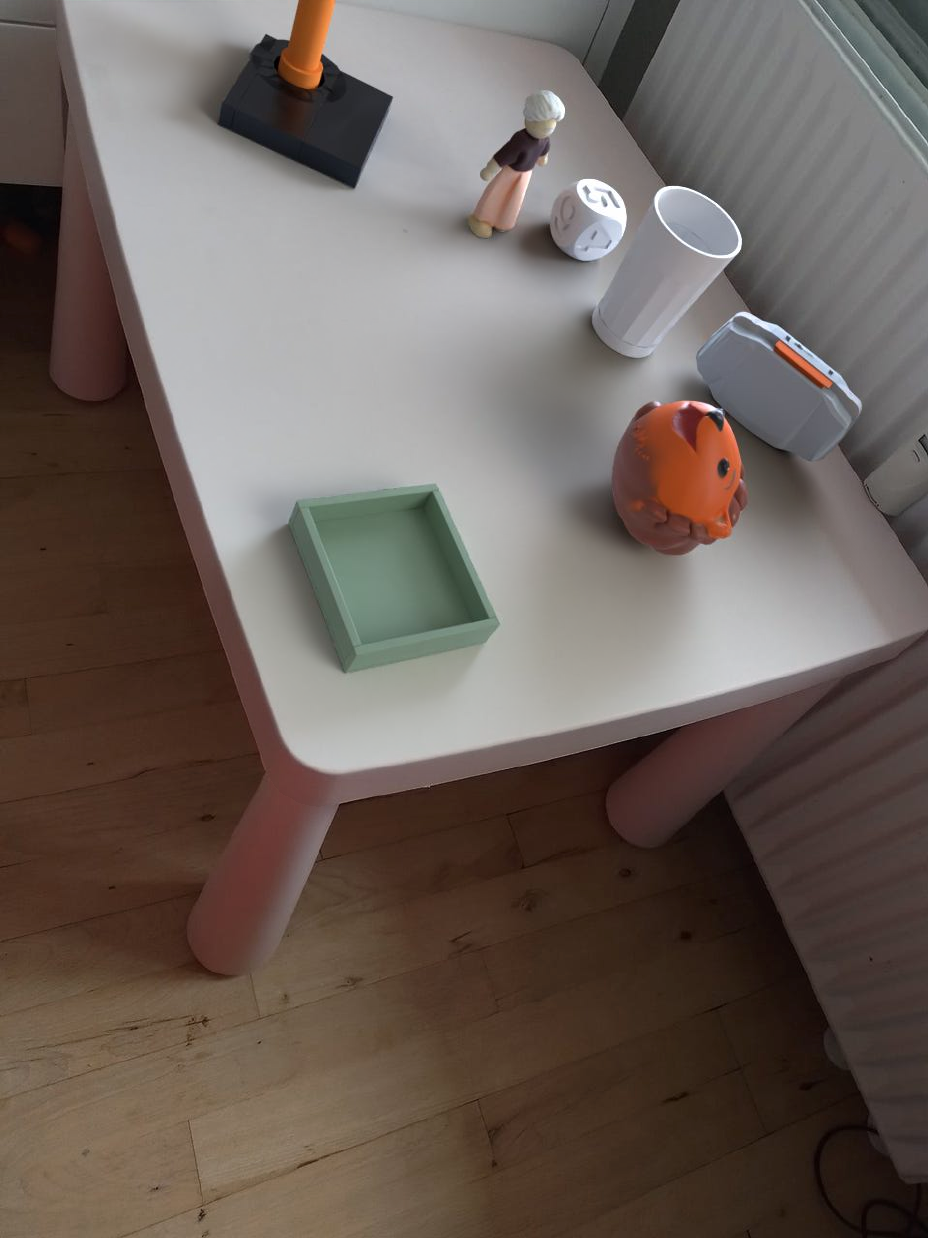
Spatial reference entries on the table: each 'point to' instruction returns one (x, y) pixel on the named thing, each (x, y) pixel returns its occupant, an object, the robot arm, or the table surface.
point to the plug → (306, 44)
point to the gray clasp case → (777, 387)
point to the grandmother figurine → (516, 166)
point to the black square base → (306, 114)
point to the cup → (665, 270)
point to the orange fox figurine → (678, 476)
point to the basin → (391, 575)
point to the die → (587, 219)
